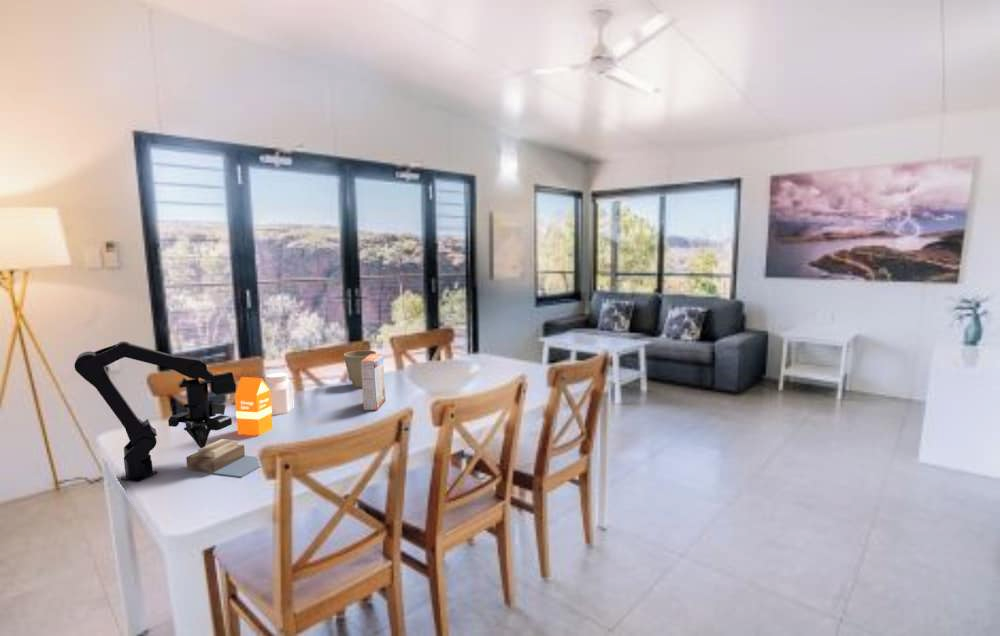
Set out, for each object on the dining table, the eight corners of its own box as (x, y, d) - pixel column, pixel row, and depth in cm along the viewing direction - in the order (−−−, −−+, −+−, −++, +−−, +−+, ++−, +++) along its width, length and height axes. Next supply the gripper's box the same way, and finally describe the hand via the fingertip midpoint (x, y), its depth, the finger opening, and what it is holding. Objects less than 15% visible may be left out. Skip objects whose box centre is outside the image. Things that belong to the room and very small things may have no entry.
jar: (284, 415, 204) (282, 378, 202) (261, 415, 204) (258, 378, 202) (297, 406, 215) (294, 371, 213) (274, 406, 215) (272, 371, 213)
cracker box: (372, 400, 222) (370, 353, 219) (386, 400, 221) (384, 353, 219) (362, 410, 208) (359, 360, 205) (377, 410, 208) (374, 360, 205)
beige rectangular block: (198, 456, 153) (197, 449, 153) (222, 445, 162) (221, 439, 161) (214, 458, 151) (214, 451, 151) (237, 446, 160) (237, 440, 160)
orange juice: (259, 435, 181) (255, 380, 178) (237, 434, 182) (232, 379, 180) (273, 428, 188) (269, 375, 186) (252, 427, 190) (248, 374, 188)
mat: (213, 474, 150) (213, 472, 150) (246, 456, 162) (246, 455, 162) (241, 477, 147) (241, 476, 147) (272, 459, 160) (272, 458, 159)
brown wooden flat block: (187, 469, 153) (186, 457, 152) (219, 454, 164) (218, 442, 164) (214, 473, 150) (213, 460, 150) (245, 457, 162) (244, 445, 161)
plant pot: (339, 388, 242) (337, 355, 240) (357, 380, 256) (355, 349, 254) (366, 390, 238) (364, 357, 236) (383, 382, 252) (381, 351, 250)
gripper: (243, 393, 161) (247, 440, 163) (194, 390, 166) (199, 436, 168) (215, 403, 151) (219, 454, 153) (164, 399, 155) (169, 449, 157)
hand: (202, 447), depth 158 cm, fingers closed
